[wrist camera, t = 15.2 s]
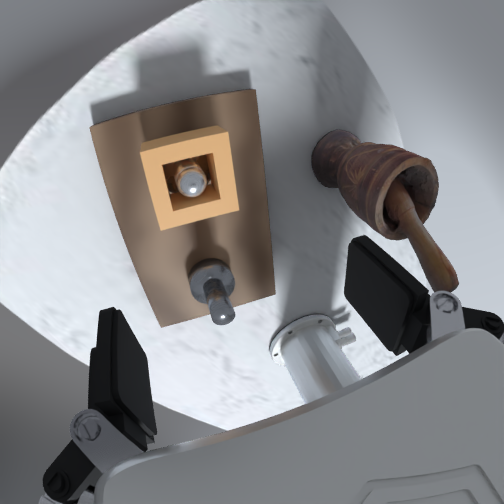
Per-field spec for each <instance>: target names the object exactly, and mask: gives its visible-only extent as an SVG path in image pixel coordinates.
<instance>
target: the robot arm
mask: <svg viewBox="0 0 504 504" xmlns="http://www.w3.org/2000/svg"><path fill="white" fill-rule="evenodd" d="M428 292H429V290H428V289H427V288H425V287H424V286H423V285H422V284H421V283H420V282H419V281H418V280H417V279H416V278H415V277H414V276H412V275H411V274H410V273H409V272H408V271H407V270H406V269H405V268H404V267H402V266H401V265H400V264H399V263H398V262H397V261H396V260H394V259H393V258H392V257H391V256H390V255H389V254H388V253H386V252H385V251H384V250H383V249H382V248H381V247H379V246H378V245H377V244H376V243H375V242H373V241H372V240H371V239H370V238H369V237H367V236H366V235H363V236H359V237H356V238H353V239H352V240H351V243H349V246H348V257H347V268H346V278H345V287H344V295H345V297H346V299H347V300H348V301H349V303H350V304H351V305H352V306H353V308H354V309H355V310H356V311H357V312H358V314H359V315H360V316H361V317H362V318H363V320H364V321H365V322H366V323H367V325H368V326H369V327H370V328H371V330H372V331H373V332H374V333H375V335H376V336H377V337H378V338H379V340H380V341H381V342H382V343H383V345H384V346H385V347H386V348H387V349H388V350H389V351H392V352H393V353H394V354H395V355H396V356H398V355H399V354H401V353H403V352H405V351H406V350H407V351H408V352H409V354H408V355H407V356H405V357H403V358H401V359H399V360H397V361H396V362H394V363H392V364H390V365H388V366H386V367H385V368H383V369H381V370H379V371H377V372H375V373H373V374H371V375H369V376H367V377H365V378H363V379H361V378H360V376H359V375H358V373H357V372H356V370H355V369H354V367H353V366H352V364H351V363H350V361H349V360H348V358H347V357H346V355H345V354H344V353H343V351H342V350H341V349H342V346H345V345H348V344H350V343H353V342H355V341H356V337H355V335H354V333H353V332H351V329H350V328H349V327H347V328H345V329H342V330H341V331H339V332H338V331H336V327H335V324H334V322H333V321H332V320H331V319H330V318H329V317H328V316H325V315H319V314H318V315H310V316H306V317H303V318H300V319H298V320H296V321H294V322H292V323H291V324H289V325H287V326H286V327H285V328H284V329H282V330H281V331H280V332H279V333H278V334H277V336H276V337H275V338H274V340H273V342H272V344H271V347H270V355H271V357H272V359H273V361H274V362H275V363H276V364H278V365H280V366H286V367H287V369H288V371H289V373H290V375H291V377H292V379H293V381H294V383H295V385H296V387H297V389H298V391H299V393H300V395H301V397H302V399H303V400H304V402H305V405H302V406H300V407H297V408H294V409H292V410H289V411H286V412H284V413H281V414H278V415H275V416H273V417H270V418H267V419H264V420H261V421H258V422H255V423H252V424H249V425H246V426H242V427H239V428H236V429H232V430H229V431H225V432H222V433H219V434H215V435H211V436H207V437H203V438H200V439H196V440H192V441H188V442H183V443H179V444H175V445H171V446H167V447H163V448H159V449H155V450H150V451H148V452H146V451H147V444H149V443H154V437H153V435H156V434H157V428H156V423H155V416H154V409H153V403H152V395H151V387H150V379H149V370H148V361H147V357H146V354H145V352H144V351H143V349H142V347H141V346H140V344H139V342H138V340H137V339H136V337H135V335H134V333H133V332H132V330H131V328H130V326H129V324H128V323H127V321H126V319H125V317H124V315H123V313H122V312H121V310H116V309H115V308H114V307H111V308H108V309H104V310H101V311H100V312H99V321H98V331H97V343H96V347H95V348H92V349H91V353H90V367H89V368H90V369H89V390H88V391H89V392H88V393H89V394H88V409H86V410H82V411H80V412H79V413H77V414H76V415H75V416H74V418H73V419H72V422H71V424H70V435H71V437H72V440H71V441H70V443H69V444H68V445H67V446H66V447H65V449H64V450H63V451H62V452H61V454H60V455H59V456H58V457H57V458H56V459H55V461H54V462H53V463H52V464H51V466H50V467H49V468H48V469H47V470H46V472H45V474H44V477H43V487H44V490H45V492H46V493H45V496H44V497H43V496H41V497H40V500H39V503H38V504H504V323H503V321H502V320H501V318H500V317H499V316H497V315H496V314H494V313H491V312H486V311H481V310H475V309H471V308H465V307H462V306H461V302H460V300H459V299H458V298H457V297H456V296H455V295H454V294H452V293H450V292H447V291H437V292H434V293H433V294H432V295H431V296H430V295H429V294H428Z"/></svg>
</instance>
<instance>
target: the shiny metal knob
mask: <svg viewBox="0 0 504 504" xmlns="http://www.w3.org/2000/svg"><path fill="white" fill-rule="evenodd" d="M188 282H189V286H190V290H191V294H192V296H193V297H194V298H195V299H196V300H197V301H198V302H201V303H204V304H208V308H209V311H210V314H211V317H212V320H213V322H214V323H215V324H217V325H225V324H228V323H230V322H231V321H232V320H233V319H234V318H235V312H234V309H233V307H232V304H231V302H230V299H229V296H230V295H231V294H232V292H233V290H234V288H235V279H234V276H233V274H232V272H231V270H230V268H229V266H228V264H227V263H226V262H224V261H223V260H221V259H217V258H207V259H204V260H201V261H199V262H198V263H196V264H195V265H194V266H193V267H192V268H191V270H190V272H189V275H188Z"/></svg>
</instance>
